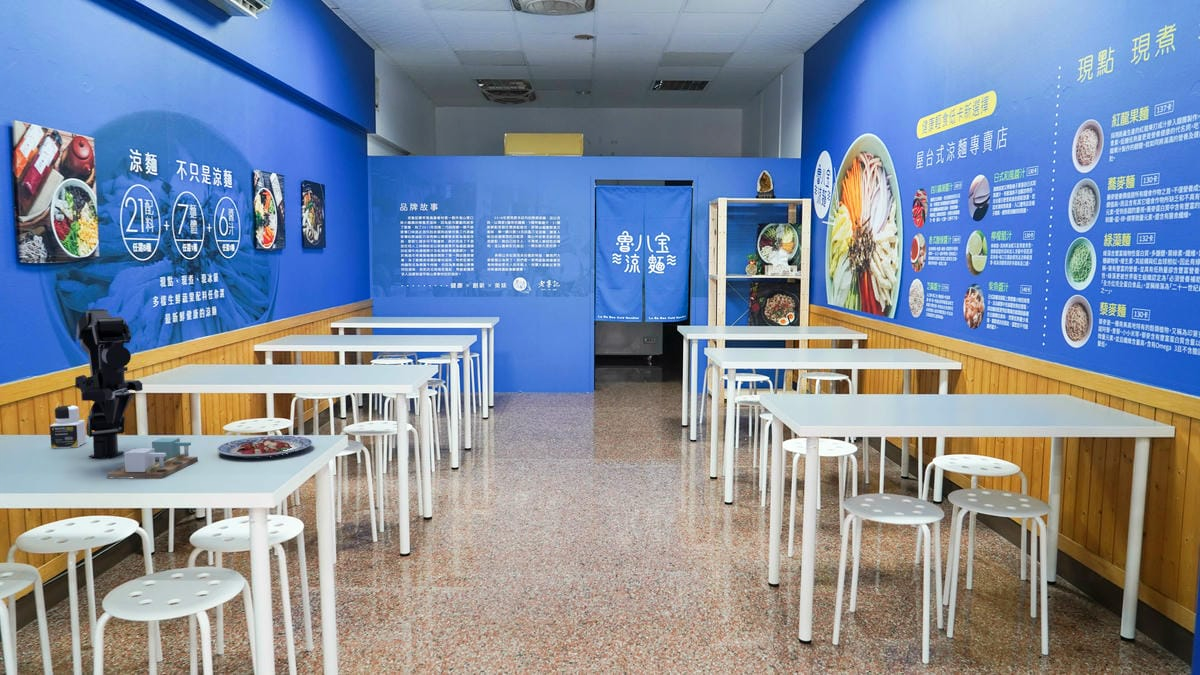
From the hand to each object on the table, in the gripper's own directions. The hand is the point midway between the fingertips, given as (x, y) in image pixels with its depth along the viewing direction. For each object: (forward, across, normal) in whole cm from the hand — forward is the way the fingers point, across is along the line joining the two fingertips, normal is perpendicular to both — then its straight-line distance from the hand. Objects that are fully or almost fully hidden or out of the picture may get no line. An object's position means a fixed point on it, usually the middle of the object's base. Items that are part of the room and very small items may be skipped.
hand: (114, 422), depth 229 cm
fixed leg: (+10, +10, +14) cm, 20 cm away
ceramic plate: (+12, -18, +33) cm, 40 cm away
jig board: (+12, +4, +12) cm, 17 cm away
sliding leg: (+11, -3, +14) cm, 18 cm away
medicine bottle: (+12, -25, -29) cm, 40 cm away
